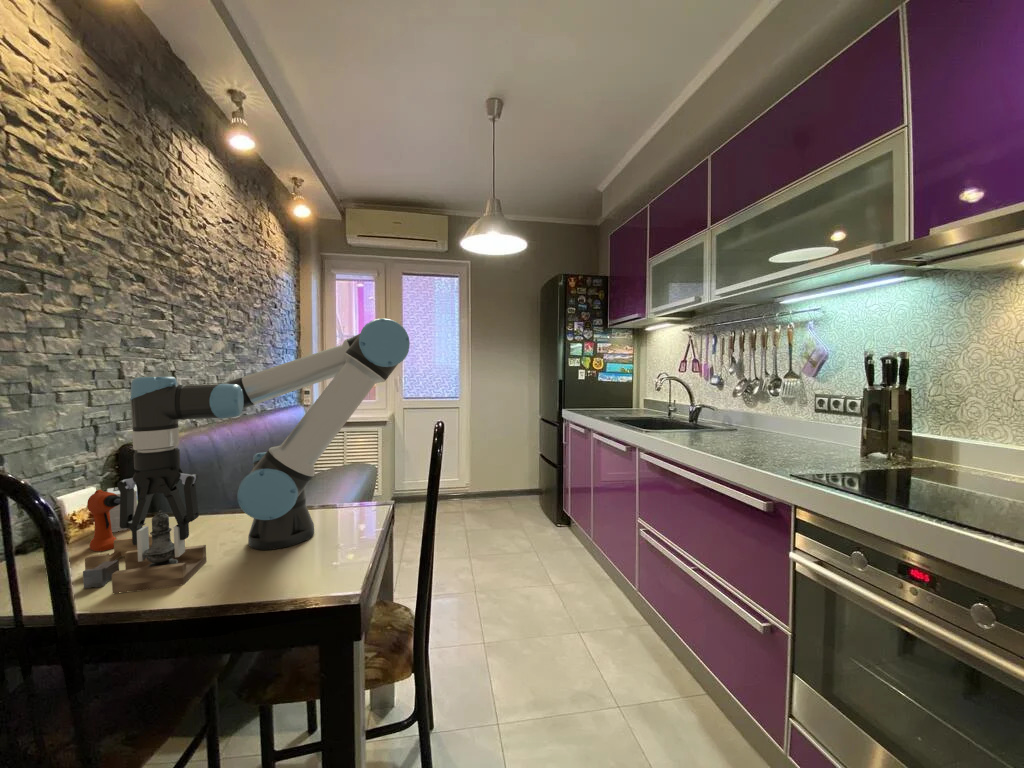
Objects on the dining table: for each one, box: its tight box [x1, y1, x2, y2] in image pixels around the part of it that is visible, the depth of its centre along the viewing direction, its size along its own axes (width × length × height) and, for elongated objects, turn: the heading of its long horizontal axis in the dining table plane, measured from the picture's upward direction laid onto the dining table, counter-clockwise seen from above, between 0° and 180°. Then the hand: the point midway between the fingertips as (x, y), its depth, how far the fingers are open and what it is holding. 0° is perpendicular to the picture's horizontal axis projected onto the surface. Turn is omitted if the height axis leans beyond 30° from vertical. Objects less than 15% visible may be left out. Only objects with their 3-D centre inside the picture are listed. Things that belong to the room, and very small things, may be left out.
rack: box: [111, 544, 208, 594], centre depth 91 cm, size 12×11×4 cm
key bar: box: [82, 559, 120, 589], centre depth 89 cm, size 3×6×4 cm, turn 15°
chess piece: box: [144, 509, 178, 567], centre depth 90 cm, size 6×6×12 cm
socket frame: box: [84, 534, 152, 570], centre depth 99 cm, size 11×11×4 cm
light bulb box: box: [106, 484, 139, 533], centre depth 123 cm, size 11×7×11 cm, turn 43°
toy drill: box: [86, 489, 120, 552], centre depth 106 cm, size 5×19×15 cm, turn 62°
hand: (162, 556), depth 91 cm, fingers closed on chess piece, 6 cm apart
